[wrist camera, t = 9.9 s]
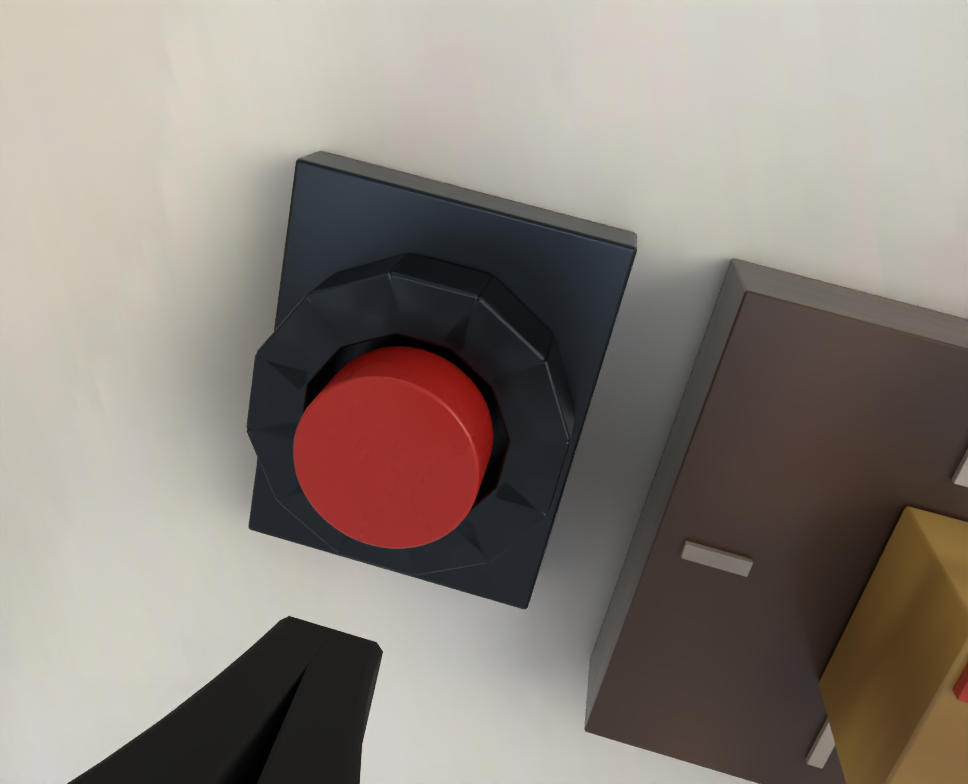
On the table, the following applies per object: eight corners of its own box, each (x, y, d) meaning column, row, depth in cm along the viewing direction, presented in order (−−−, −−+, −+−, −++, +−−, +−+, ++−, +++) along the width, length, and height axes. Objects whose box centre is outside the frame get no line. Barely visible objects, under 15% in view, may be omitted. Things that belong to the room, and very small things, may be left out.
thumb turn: (886, 703, 18) (948, 871, 15) (816, 683, 18) (861, 846, 15) (982, 524, 16) (1083, 666, 13) (905, 503, 17) (981, 638, 13)
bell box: (319, 149, 18) (263, 169, 16) (638, 232, 18) (637, 268, 15) (269, 501, 22) (216, 567, 19) (533, 577, 22) (518, 656, 19)
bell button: (336, 324, 17) (305, 354, 15) (512, 372, 17) (499, 408, 15) (311, 478, 18) (280, 520, 17) (473, 524, 18) (457, 572, 17)
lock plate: (1222, 385, 17) (1318, 443, 15) (974, 773, 22) (1016, 867, 19) (731, 257, 18) (746, 293, 15) (589, 660, 22) (583, 737, 20)
